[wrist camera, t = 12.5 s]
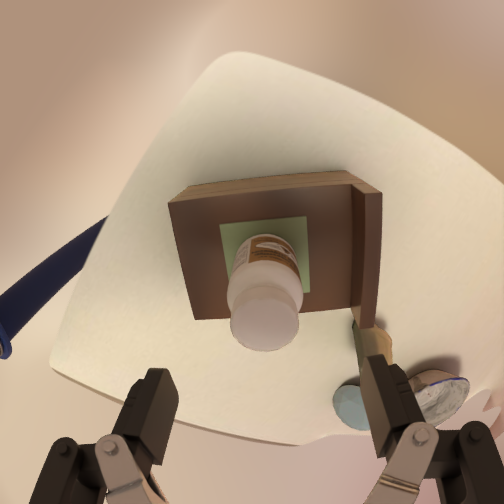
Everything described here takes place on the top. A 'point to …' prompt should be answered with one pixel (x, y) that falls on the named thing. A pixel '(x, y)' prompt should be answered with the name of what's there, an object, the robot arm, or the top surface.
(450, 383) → the bowl
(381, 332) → the beige rounded block
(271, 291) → the pill bottle
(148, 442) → the robot arm
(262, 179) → the shelf
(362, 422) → the gemstone
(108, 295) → the top surface
